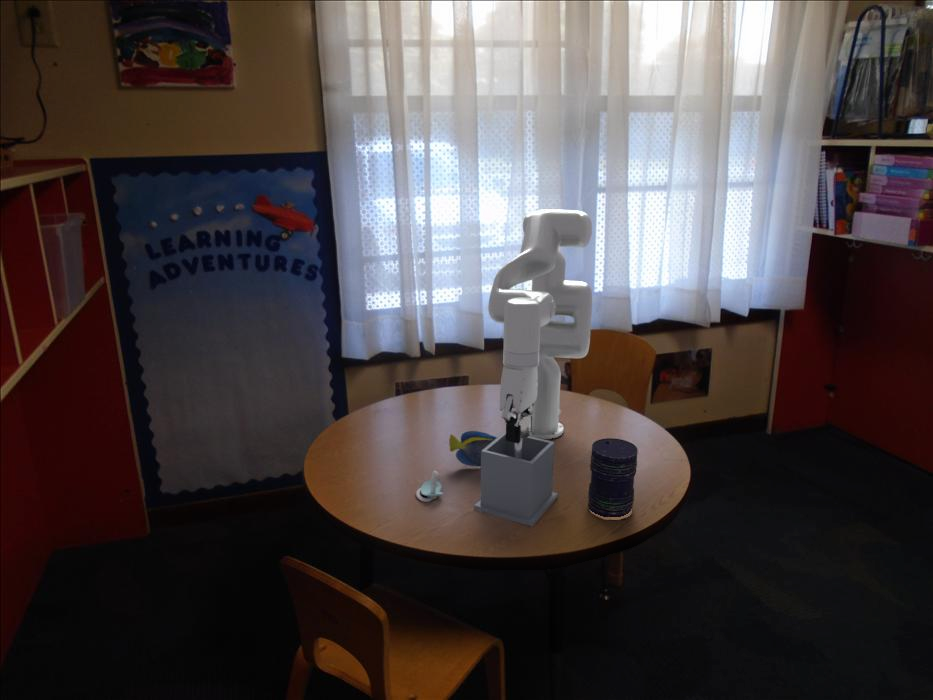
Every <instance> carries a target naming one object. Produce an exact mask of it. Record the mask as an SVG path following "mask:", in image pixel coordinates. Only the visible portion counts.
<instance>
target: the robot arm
mask: <svg viewBox="0 0 933 700" xmlns="http://www.w3.org/2000/svg"><path fill="white" fill-rule="evenodd" d="M592 224H593V223H592V219H591V217H590V215H589V214H587V213H586V212H584V211H581V210H574V209H573V210H571V209H539V210H536V211H534V212H531V213H528V214H527V215H525V216H524V218H523V222H522V230H523V238H522V243H521V247H520V253H519V254H518V255H516V256H515V257H513V258H512V259H510V260H509V261H508V262H507V263H506V264H504V265H503V266H502V267H501V268H500V269H499V270H498V271H497V273H496V275H495V277H494V279H493V281H492V287H491V291H490V295H489V299H488V315H489V317H490V319H491V320H493V321H494V322H495V323H499V324H503V349H502V350H503V354H502V355H503V356H502V357H503V359H502V365H503V366H502V373H501V380H500V384H499V385H500V386H499V387H500V388H499V399H498V408H499V411H502V413H501V418H502V419H503V420H504V424H505V431H506V441H510V442H514V443H520V434H521V426H520V425H519V422H520V415H521V412H524V413H527V414H529V415H530V416H531V431H530V437H535V438H539V439H543V440H552V438H553V439H555V438H558V437H560V436H562V435H563V434H564V429H565V428H564V425H563V424H562V423H560V422H559V421H560V420H559V417H560V416H559V415H560V414H561V413H562V409H561V408H560V397H561V396H560V395H561V380H562V379H561V378H562V376H561V375H562V374H561V373H562V372H561V368H560V365H559V364H558V362H557V360H555V358H567V359H583V358H585V357H587V355H588V353H589V349H590V343H591V330H592V329H591V328H592V312H593V311H592V309H593V293H592V289H591V286H590V284H588V283H587V282H585V281H580V280H566V265H567V263H566V259H565V256H564V255H563V253H562V251H561V250H560V248H559V247H564V248H565V247H567V248H585V247H587V246H588V245H589V243H590V241H591V237H592V233H593V226H592ZM529 281H531V290H528V289H516V288H515V289H514V288H513V287H515V286H517V285H519V284H522V283H526V282H529ZM555 317H566V318H567V317H568V318H571V319H572V320H573V321H572V322H571V321H558V320H553V319H554V318H555ZM513 409H515V410H513ZM511 414H516V418H514V417H512V416H511ZM562 433H563V434H562Z"/></svg>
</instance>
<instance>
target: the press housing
mask: <svg viewBox="0 0 933 700" xmlns="http://www.w3.org/2000/svg"><path fill="white" fill-rule="evenodd" d="M514 454H515V443H514V442H510V441H506V430H505V431H503V432H502V433H501V434H500V435H499V436H497V438H496V439H495V440H494V441H493V442H492V443H490V444H489V445H488V446H487V447H485V448H484V449H483V450H482V451H481V466H480V499H479V500H478V501H477V502H476V503H475V504H474V506H473V507H474V508H473V509H474V510H475V511H479V512H483V513H485V514H489V515H491V516H496V517H499V518H502V519H506V520H509V521H512V522H517V523H519V524H523V525H524V526H525V525H526V526H529V527H532V528H533V527H534V526H535V524H536V523H537V522H538V521H540V518H541V517H542V516H543V515H544V514H545V513H546V511H547V510H549V508H550V507H551V506H552V504H554V502H555V501H556V500H557V499H558V494H559V493H558V492H554V491H553V483H554V481H553V479H554V459H555V441H551V440H548V439H539V438H535V437H530V436H529V437H526V438H522V459H519V458H515V457H514ZM556 498H557V499H556ZM555 499H556V500H555ZM550 505H551V506H550ZM544 512H545V513H544ZM543 513H544V514H543Z"/></svg>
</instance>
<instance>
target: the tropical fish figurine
mask: <svg viewBox="0 0 933 700" xmlns="http://www.w3.org/2000/svg"><path fill="white" fill-rule="evenodd" d="M496 438H498V436H494V435H491V434H489V433H487V432H483V431H478V430H468V431H464V432H463V433H461V436H460V440H459V439H458V437H456V436H454V435H453V434H452V433H451V434H450V435H449V441H448V442H449V443H448V445H449V451H450V452H454V451H455V450H457V451H456V453H455V457H456V460H458V461H459V463H461V464H463V465H465V466H470V467H481V451H482V450H483V449H484V448H485V447H487V446H488V445H489V444H490V443H492V442H493V441H494V440H495V439H496Z"/></svg>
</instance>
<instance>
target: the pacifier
mask: <svg viewBox="0 0 933 700" xmlns="http://www.w3.org/2000/svg"><path fill="white" fill-rule="evenodd" d="M439 476H440V475H439V473H438V471H436V470H433V471H432V473H431V477H430V478H429V479H426V481H424V482H423V483H422V486H421V487H419V488H417V490H416V492H415V493H416V494H415V496H416V498H417V499H418V500H419V501H421V502H428V503H429V502H431V501H433V500H436V499H437V498H438V497H439V496H443V495H444V492H442V491H441V490H442V484H441V482H440V481H439ZM422 495H423V496H426V497H423V496H422Z"/></svg>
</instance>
